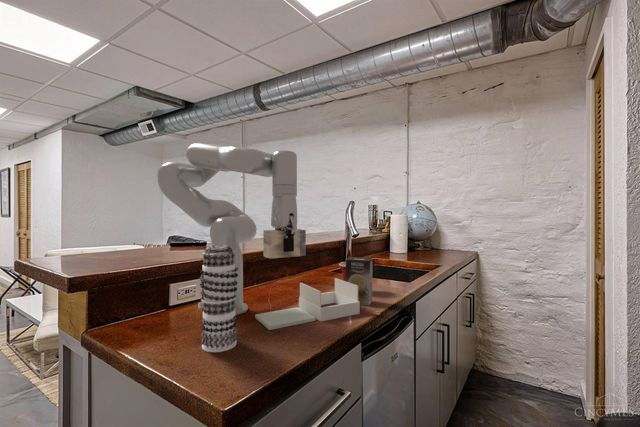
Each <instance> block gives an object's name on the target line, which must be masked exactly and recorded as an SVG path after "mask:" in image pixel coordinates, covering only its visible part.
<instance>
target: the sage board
mask: <svg viewBox="0 0 640 427" xmlns="http://www.w3.org/2000/svg"><path fill="white" fill-rule="evenodd" d="M254 318H255V319H256V320H257V321H258V322H259V323H261V324H262V325H263V326H264V327H265V328H266V329H267V330H269V331H271V330H277V329H282V328H286V327H291V326H297V325H301V324H307V323H310V322H311V323H312V322H315V321H316V318H315V317H314V316H312V315H310V314H309V313H307V312H305V311H303V310H302V309H300V308H299V306H298V307H297V306H296V307H291V308H285V309H280V310H279V309H278V310H274V311H267V312H261V313H256V314H254Z"/></svg>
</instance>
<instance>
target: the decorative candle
mask: <svg viewBox="0 0 640 427" xmlns="http://www.w3.org/2000/svg"><path fill="white" fill-rule="evenodd" d="M234 253H235V251H233V250H232V248H231V247H230V246H226V245H216V246H212V245H210V246H207V247H206V248H205V250H204V252H201V254H202V256H203V258H202V259H203V260H202V261H203V264H202V269H201V270H200V274H201V275H200V277H199V280H200V284H199V286H200V287H201V291H200V295H201V298H200V299H201V301H200V302H204V305H203V307H204V308H203V311H202V319H200V320H201V324H202V325H201V330H203V331H202V332H201V337H202V338H201V348H202V350H203V351H205V352H208V353H223V352H226V351H229V350H231V349H233V348H235V347H236V345H237V343H238V342H237V337H238V335H237V332H238V329H237V328H236V327H237V324H238V322H237V318H238V317H237V316H238V315H235V299H236V295H235V294H234V292H235V291H237V288H236V287H234V286H235V285H237V282H236V281H234V278H236V277H237V276H238V274H236V273H234V271H235V272H236V271H237V270H238V268H237V267H235V263H234Z"/></svg>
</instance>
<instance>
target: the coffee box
mask: <svg viewBox="0 0 640 427" xmlns="http://www.w3.org/2000/svg"><path fill="white" fill-rule="evenodd" d="M373 260H374V259H373V258H370V257H368V258H367V257H356V256H354V257H353V256H348V258H346V259H345V262H346V282H349V283H351V284H354V285H357V286H358V301H360V306H368V307H369V306H370V305H371V304H372V302H373V267H374V266H373V265H374V264H373Z"/></svg>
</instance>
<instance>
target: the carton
mask: <svg viewBox="0 0 640 427" xmlns="http://www.w3.org/2000/svg"><path fill="white" fill-rule="evenodd" d="M330 304H335V305H330ZM323 305H324V307H322V306H323ZM325 305H327V306H325ZM328 305H329V306H328ZM360 306H361V305H360V301H358V286H357V285H354V284H351V283H349V282H346V281H344V280H343V279H339V278H337V277H334V291H330V292H329V291H327V292H322V291H321V290H319V289H316V288H314V287H313V286H310V285H308V284H305V283H303V282H300V283H299V297H298V308H300V309H302V310H303V311H305V312H307V313H309V314H310V315H312V316H314V317H315V320H317V321H318V322H325V321H330V320H335V319H340V318H344V317H348V316H349V317H350V316H355V315H360V311H361V308H360Z"/></svg>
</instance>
